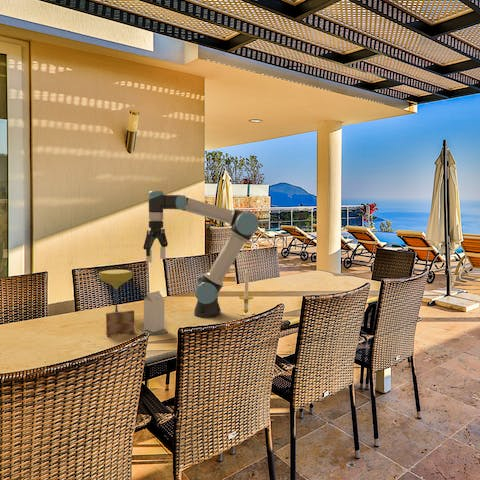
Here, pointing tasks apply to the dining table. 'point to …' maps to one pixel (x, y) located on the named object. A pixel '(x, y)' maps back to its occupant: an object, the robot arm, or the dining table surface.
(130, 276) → the cocktail glass
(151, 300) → the milk carton
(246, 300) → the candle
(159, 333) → the coaster
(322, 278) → the dining table surface
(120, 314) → the brown upright block
